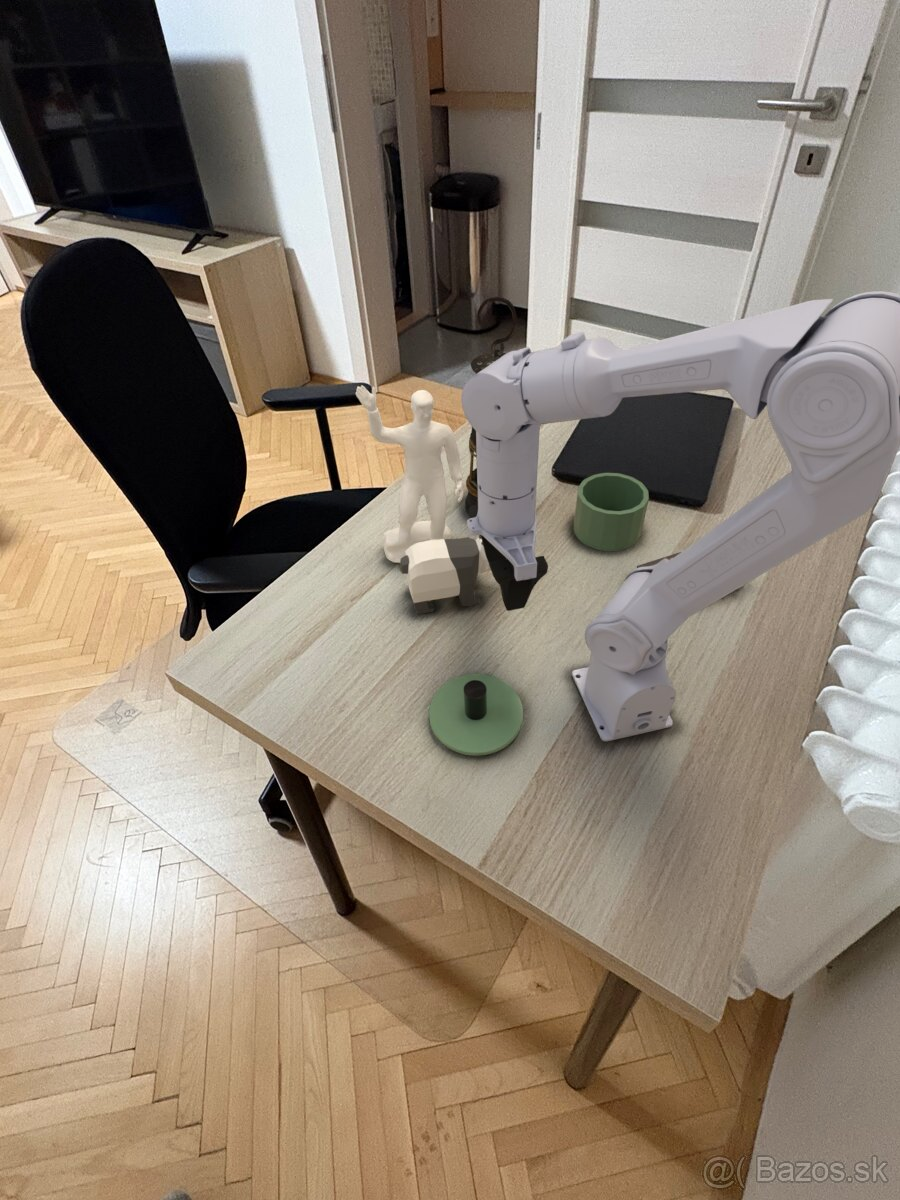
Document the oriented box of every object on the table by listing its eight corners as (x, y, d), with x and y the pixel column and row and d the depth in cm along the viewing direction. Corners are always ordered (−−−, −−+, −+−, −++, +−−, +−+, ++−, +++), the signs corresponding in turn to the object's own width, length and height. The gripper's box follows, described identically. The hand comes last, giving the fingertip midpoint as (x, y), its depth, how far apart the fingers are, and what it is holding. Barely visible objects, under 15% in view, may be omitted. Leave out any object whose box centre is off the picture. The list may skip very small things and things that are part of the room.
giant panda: (408, 618, 78) (399, 563, 71) (402, 589, 82) (393, 533, 75) (519, 599, 80) (521, 542, 73) (508, 570, 84) (509, 514, 77)
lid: (535, 746, 65) (537, 719, 61) (440, 768, 64) (437, 741, 60) (507, 671, 72) (508, 642, 68) (422, 690, 71) (417, 661, 67)
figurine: (376, 569, 85) (344, 401, 67) (390, 530, 91) (364, 367, 73) (461, 575, 83) (452, 405, 65) (470, 536, 89) (464, 369, 71)
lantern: (501, 532, 89) (503, 321, 68) (452, 510, 94) (439, 305, 72) (535, 501, 94) (548, 295, 72) (487, 481, 98) (486, 280, 77)
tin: (651, 544, 86) (660, 506, 81) (587, 556, 85) (593, 519, 80) (624, 504, 92) (630, 468, 88) (564, 515, 91) (568, 479, 87)
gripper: (451, 449, 64) (457, 548, 74) (485, 536, 54) (486, 637, 64) (516, 438, 65) (514, 538, 74) (562, 522, 55) (552, 624, 64)
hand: (505, 583), depth 69 cm, fingers open, 7 cm apart
